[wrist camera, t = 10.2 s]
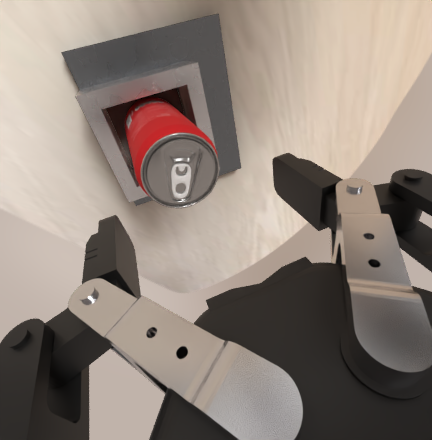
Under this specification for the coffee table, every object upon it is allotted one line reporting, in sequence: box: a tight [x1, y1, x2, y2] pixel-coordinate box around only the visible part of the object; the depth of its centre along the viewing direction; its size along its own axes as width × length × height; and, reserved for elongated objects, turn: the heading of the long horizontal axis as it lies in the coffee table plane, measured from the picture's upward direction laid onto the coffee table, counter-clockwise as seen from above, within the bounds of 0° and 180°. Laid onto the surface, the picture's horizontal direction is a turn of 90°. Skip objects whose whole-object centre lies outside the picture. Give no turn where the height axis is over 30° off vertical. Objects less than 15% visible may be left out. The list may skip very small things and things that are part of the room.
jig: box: [61, 14, 241, 206], centre depth 23 cm, size 12×14×4 cm
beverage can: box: [125, 97, 219, 208], centre depth 19 cm, size 5×5×12 cm
